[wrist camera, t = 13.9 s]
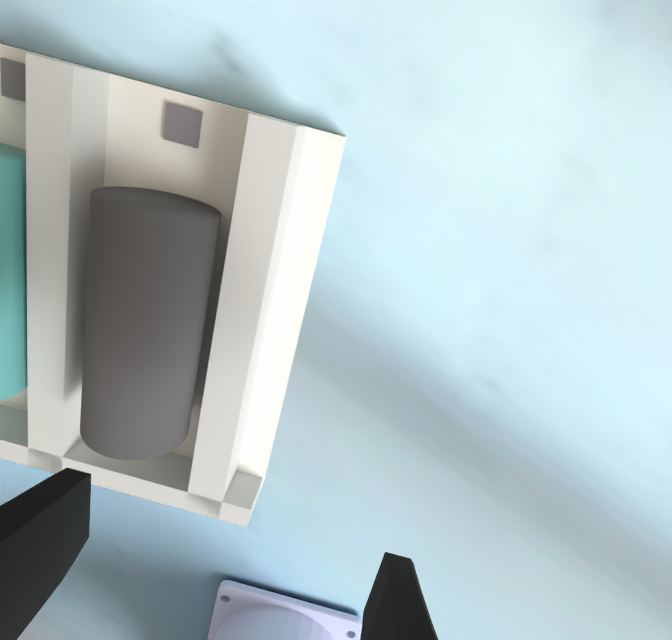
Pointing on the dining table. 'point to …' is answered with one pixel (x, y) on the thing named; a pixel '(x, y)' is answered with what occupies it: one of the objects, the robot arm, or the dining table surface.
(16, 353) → the teal rounded tube
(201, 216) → the grey rounded cylinder
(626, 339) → the dining table surface
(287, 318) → the comb rack
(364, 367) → the dining table surface
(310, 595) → the dining table surface
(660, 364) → the dining table surface
